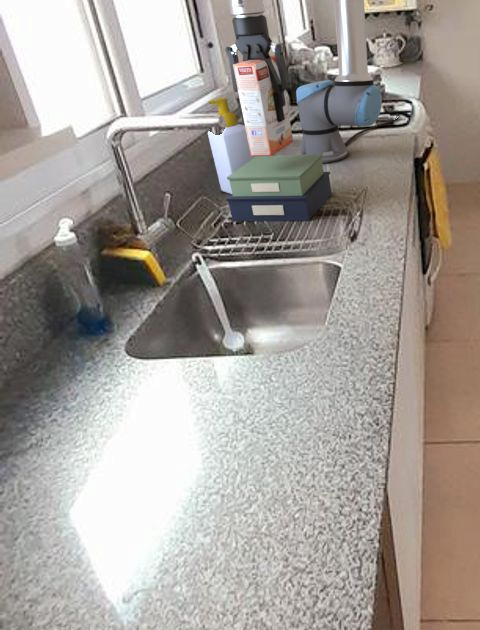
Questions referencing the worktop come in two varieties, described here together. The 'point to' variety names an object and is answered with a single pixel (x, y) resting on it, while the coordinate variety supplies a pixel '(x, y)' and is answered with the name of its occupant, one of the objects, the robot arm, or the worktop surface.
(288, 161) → the box stack
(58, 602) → the worktop surface
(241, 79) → the cracker box
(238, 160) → the soap bottle
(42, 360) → the worktop surface
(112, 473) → the worktop surface
